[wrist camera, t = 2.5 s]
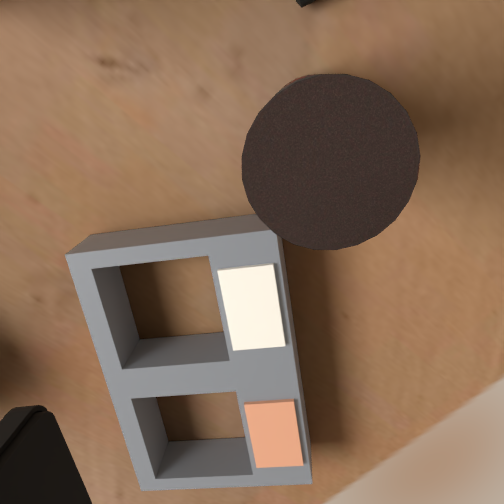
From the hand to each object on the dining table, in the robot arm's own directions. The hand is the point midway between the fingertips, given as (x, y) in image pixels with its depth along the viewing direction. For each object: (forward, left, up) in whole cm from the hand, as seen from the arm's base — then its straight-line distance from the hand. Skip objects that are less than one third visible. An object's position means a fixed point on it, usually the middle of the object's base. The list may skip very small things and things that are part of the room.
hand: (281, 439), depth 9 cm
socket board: (+8, +12, -23) cm, 28 cm away
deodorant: (-2, -4, -24) cm, 24 cm away
